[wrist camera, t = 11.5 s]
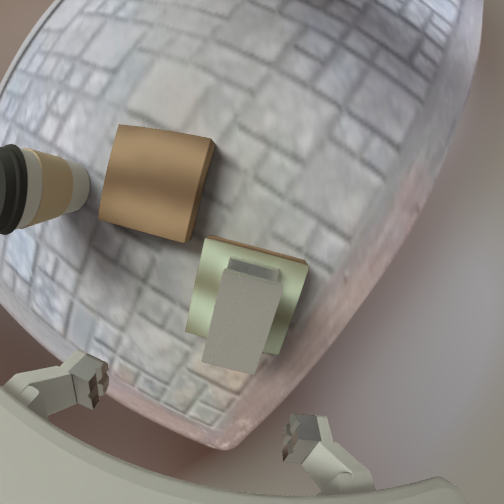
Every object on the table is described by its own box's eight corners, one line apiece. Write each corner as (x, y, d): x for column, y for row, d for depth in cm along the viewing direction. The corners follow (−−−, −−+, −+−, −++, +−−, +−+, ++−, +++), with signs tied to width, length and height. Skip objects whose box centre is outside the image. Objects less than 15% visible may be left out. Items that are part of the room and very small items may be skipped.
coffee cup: (61, 146, 28) (-19, 135, 14) (105, 164, 29) (19, 153, 14) (43, 207, 30) (-35, 219, 15) (84, 230, 31) (1, 254, 16)
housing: (230, 255, 28) (222, 271, 22) (278, 267, 28) (283, 287, 22) (212, 331, 29) (201, 361, 23) (255, 342, 30) (254, 374, 23)
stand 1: (130, 129, 28) (119, 124, 25) (215, 144, 28) (210, 138, 25) (110, 216, 30) (97, 219, 27) (191, 238, 30) (184, 243, 28)
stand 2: (210, 234, 30) (204, 238, 27) (304, 260, 31) (309, 266, 28) (191, 320, 32) (185, 331, 30) (276, 342, 33) (278, 355, 30)
